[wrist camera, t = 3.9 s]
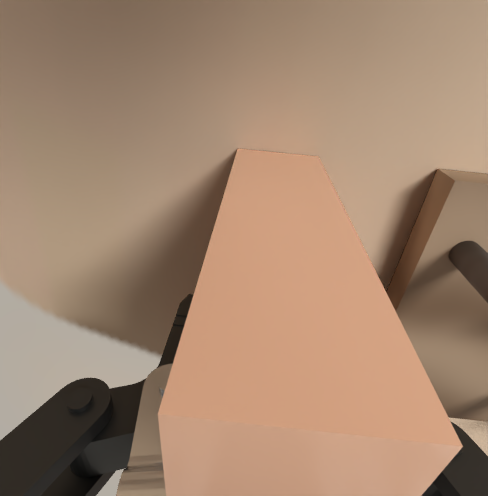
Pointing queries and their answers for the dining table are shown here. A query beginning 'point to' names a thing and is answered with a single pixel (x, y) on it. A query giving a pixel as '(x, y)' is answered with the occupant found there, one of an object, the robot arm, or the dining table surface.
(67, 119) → the dining table surface
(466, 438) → the robot arm
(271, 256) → the peach chamfered block
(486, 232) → the dish rack
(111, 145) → the dining table surface
